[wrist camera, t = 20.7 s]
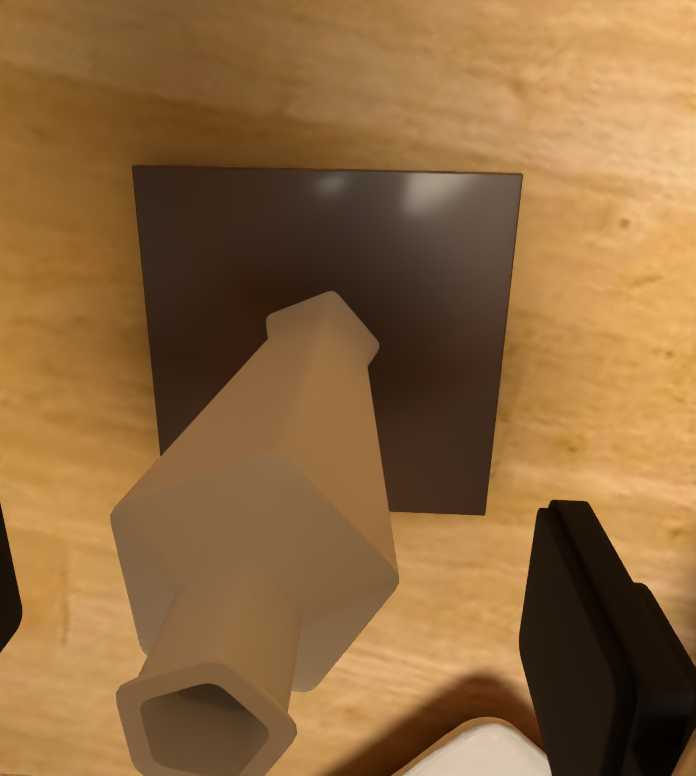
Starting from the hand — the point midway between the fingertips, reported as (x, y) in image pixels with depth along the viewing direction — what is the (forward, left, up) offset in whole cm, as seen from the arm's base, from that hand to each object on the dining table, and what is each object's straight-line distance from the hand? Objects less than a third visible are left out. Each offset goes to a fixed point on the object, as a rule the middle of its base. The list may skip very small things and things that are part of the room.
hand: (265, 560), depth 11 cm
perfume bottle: (0, 0, -12) cm, 12 cm away
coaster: (0, 0, -12) cm, 12 cm away
